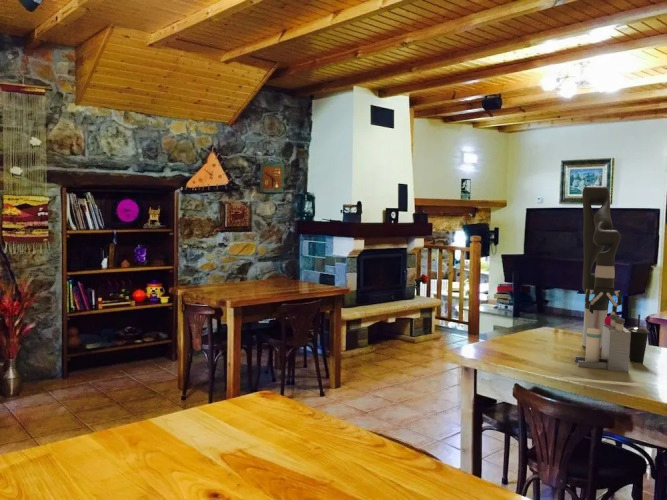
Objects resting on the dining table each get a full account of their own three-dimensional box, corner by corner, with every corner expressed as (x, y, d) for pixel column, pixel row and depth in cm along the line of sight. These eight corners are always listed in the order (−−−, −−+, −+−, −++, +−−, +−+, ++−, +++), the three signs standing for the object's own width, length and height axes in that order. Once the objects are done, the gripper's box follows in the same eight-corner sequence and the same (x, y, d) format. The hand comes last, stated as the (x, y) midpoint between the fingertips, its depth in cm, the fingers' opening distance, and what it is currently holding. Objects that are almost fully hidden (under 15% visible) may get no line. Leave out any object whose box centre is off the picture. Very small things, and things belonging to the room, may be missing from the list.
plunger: (608, 330, 221) (609, 314, 221) (617, 331, 221) (618, 314, 220) (610, 332, 218) (611, 315, 218) (619, 332, 217) (620, 316, 217)
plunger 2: (613, 334, 214) (614, 317, 213) (622, 335, 213) (623, 318, 212) (615, 336, 211) (616, 319, 210) (624, 337, 210) (625, 320, 209)
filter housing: (573, 362, 226) (576, 323, 225) (620, 366, 221) (622, 326, 220) (579, 370, 214) (581, 328, 213) (628, 374, 210) (630, 332, 209)
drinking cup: (621, 360, 230) (624, 312, 229) (639, 361, 231) (642, 312, 229) (632, 366, 222) (636, 316, 221) (651, 366, 223) (654, 316, 222)
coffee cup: (583, 362, 222) (585, 327, 221) (597, 363, 220) (599, 328, 219) (585, 366, 217) (588, 330, 216) (600, 367, 215) (602, 331, 214)
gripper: (620, 276, 242) (618, 314, 242) (584, 274, 245) (583, 311, 246) (625, 278, 234) (622, 316, 235) (588, 276, 238) (586, 314, 238)
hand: (602, 314), depth 240 cm, fingers open, 8 cm apart
